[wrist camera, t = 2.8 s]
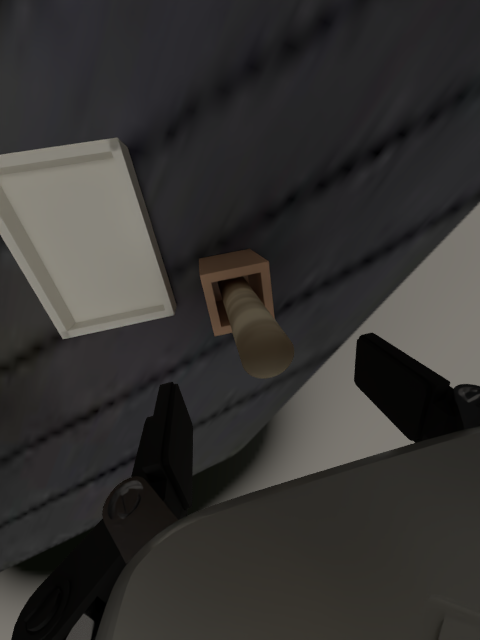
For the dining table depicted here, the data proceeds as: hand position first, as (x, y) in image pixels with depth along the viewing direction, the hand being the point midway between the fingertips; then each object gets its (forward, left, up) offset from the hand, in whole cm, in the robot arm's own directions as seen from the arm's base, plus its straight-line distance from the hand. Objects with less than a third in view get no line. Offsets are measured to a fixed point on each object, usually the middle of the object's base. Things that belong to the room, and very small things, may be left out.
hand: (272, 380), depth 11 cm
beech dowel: (0, 0, -17) cm, 17 cm away
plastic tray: (-6, -13, -18) cm, 23 cm away
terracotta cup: (0, 0, -18) cm, 18 cm away
